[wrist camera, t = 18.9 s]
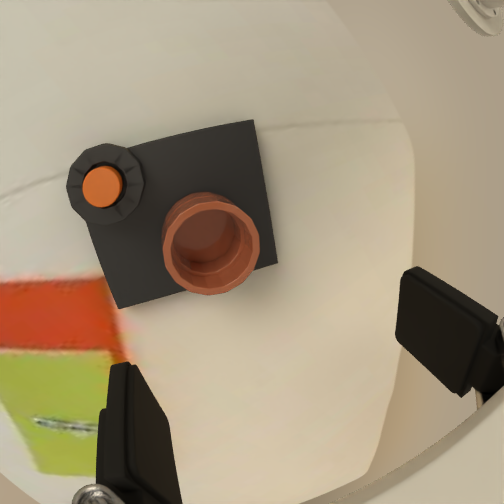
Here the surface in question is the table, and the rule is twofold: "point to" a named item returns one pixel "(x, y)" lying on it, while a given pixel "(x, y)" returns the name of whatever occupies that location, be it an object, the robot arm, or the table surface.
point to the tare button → (102, 186)
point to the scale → (167, 201)
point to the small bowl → (209, 243)
